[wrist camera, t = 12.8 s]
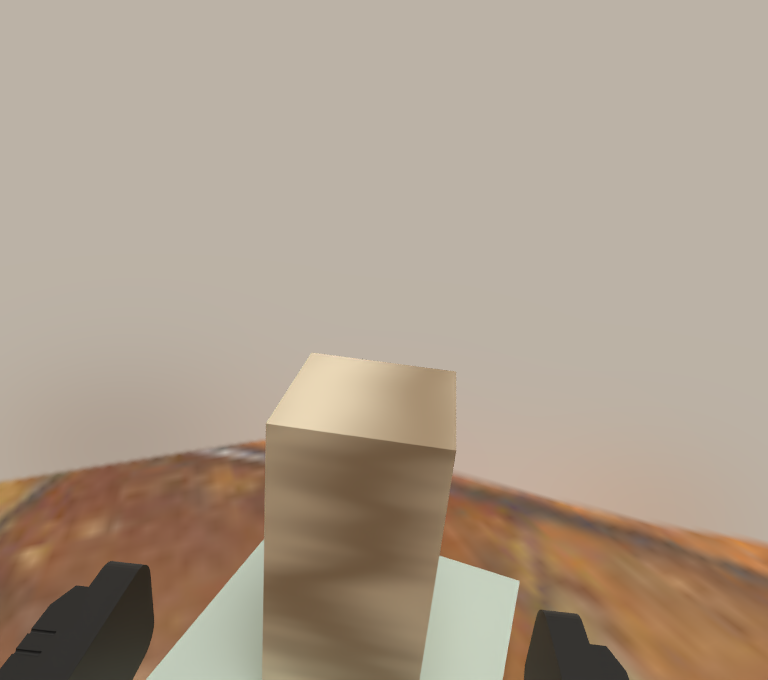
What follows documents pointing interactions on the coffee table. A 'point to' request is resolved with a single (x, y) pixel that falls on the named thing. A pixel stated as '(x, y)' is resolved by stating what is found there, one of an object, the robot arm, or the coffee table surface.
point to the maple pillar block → (355, 518)
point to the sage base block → (442, 647)
